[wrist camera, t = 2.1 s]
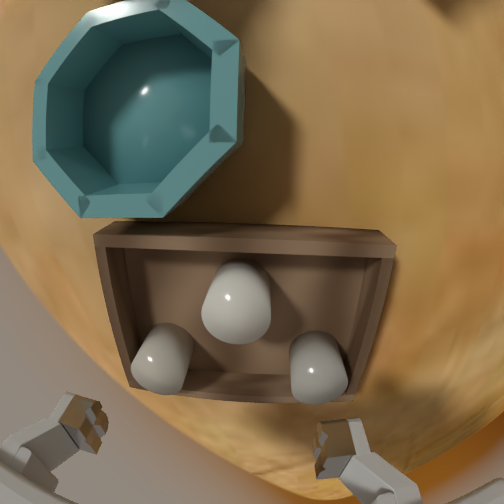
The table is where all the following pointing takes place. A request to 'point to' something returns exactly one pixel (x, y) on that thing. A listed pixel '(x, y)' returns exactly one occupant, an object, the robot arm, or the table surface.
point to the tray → (281, 287)
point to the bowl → (138, 108)
